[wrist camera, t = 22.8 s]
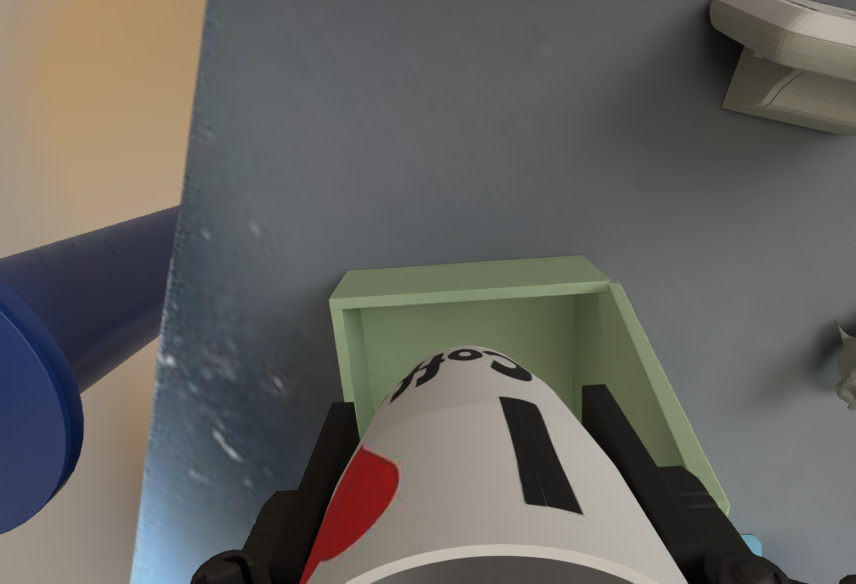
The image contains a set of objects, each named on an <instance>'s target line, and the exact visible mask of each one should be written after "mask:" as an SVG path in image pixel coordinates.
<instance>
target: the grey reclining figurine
mask: <svg viewBox="0 0 856 584" xmlns="http://www.w3.org/2000/svg"><path fill="white" fill-rule="evenodd" d="M835 323H836V326H837V328H838V330H839V333H840V335H841V338H842V341H843V344H844V345H843V350H842V352H841V354H840V355H839V358H838V367H839V371H840V375H841V379H842V381H841V382H839V383H838V385H837V390H836V391H837V396H838V397H839V398H840V399H842V400H844V401H845V402H847V403H849V404H850V405H849V406H848V407H847V408H848V409H850V410H855V409H856V337H853V336H849V335H847V334H846V333H845V332H844V331H843V330H842V329H841V328H840V327H839V325H838V323H837V322H836V321H835Z"/></svg>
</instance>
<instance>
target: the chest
mask: <svg viewBox="0 0 856 584" xmlns="http://www.w3.org/2000/svg"><path fill="white" fill-rule="evenodd" d="M608 283H611V280H610V279H609V278H608V277H607V276H605V275H604V274H603V273H602V272H601V271H600V270H599V269H598V268H597V267H596V266H595V265H593V264H592V263H591V262H590V261H589V260H588V259H587V258H586V257H585V256H584V255H571V256H557V257H542V258H528V259H513V260H498V261H484V262H469V263H454V264H440V265H425V266H411V267H396V268H381V269H367V270H352V271H347V272H346V274H345V275H344V277H343V278H342V280H341V281H340V283H339V284H338V286H337V287H336V289H335V290H334V292H333V293H332V295H331V297H330V298H329V305H330V310H331V318H332V324H333V331H334V337H335V344H336V351H337V357H338V364H339V370H340V377H341V383H342V390H343V396H344V402H354V405H355V412H356V418H357V424H358V430H359V436H360V441H361V439H362V437H363V435H364V434H365V432H366V430H367V428H368V426H369V425H370V423H371V421H372V419H373V417H374V415H375V414H376V412H377V410H378V408H379V407H380V405H381V403H382V402H383V401H384V399H385V398H386V397H387V396H388V394H389V393H390V392H391V391H392V390H393V389H394V388H395V387H396V386H397V385H398V384H399V383H400V382H401V381H402V380H403V379H404V378H405V377H406V376H407V375H408V373H409V372H410V371H411V370H412V369H413V368H414V367H415V366H416V365H417V364H418V363H420V362H421V361H422V360H424V359H425V358H426V357H428V356H430V355H432V354H434V353H436V352H438V351H440V350H443V349H447V348H451V347H456V346H480V347H486V348H489V349H493V350H496V351H498V352H500V353H502V354H504V355H506V356H508V357H509V358H511V359H512V360H514V361H515V362H516V363H518V364H519V365H521V366H522V367H523V368H525V369H526V370H528V371H529V372H530V373H532V374H533V375H535V376H536V377H537V378H539V379H540V380H542V381H543V382H544V383H545V384H547V385H548V386H549V387H550V388H551V389H552V390H553V391H554V392H555V393H556V394H557V396H558V397H559V398H560V399H561V401H562V402H563V403H564V404H565V405H566V407H567V408H568V409H569V410H570V411H571V413H572V414H573V415H574V416H575V417H576V419H577V420H578V421H579V422H580V423H581V425H582V385H596V384H603V380H604V355H605V330H606V305H607V284H608Z"/></svg>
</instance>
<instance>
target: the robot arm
mask: <svg viewBox="0 0 856 584" xmlns="http://www.w3.org/2000/svg"><path fill="white" fill-rule="evenodd" d="M582 426H583V427H584V428H585V430H586V431H587V432H588V433H589V434H590V436H591V437H592V438H593V439H594V440H595V442H596V443H597V444H598V445H599V446H600V448H601V449H602V450H603V451H604V453H605V454H606V455H607V456H608V457H609V459H610V460H611V461H612V462H613V464H614V465H615V466H616V468H617V469H618V471H619V473H620V474H621V476H622V477H623V479H624V481H625V482H626V484H627V486H628V487H629V489H630V490H631V492H632V494H633V495H634V497H635V498H636V500H637V502H638V503H639V505H640V507H641V508H642V510H643V511H644V513H645V515H646V516H647V518H648V520H649V521H650V523H651V524H652V526H653V528H654V529H655V531H656V533H657V534H658V536H659V537H660V539H661V541H662V542H663V544H664V545H665V547H666V549H667V550H668V552H669V554H670V555H671V557H672V558H673V560H674V562H675V563H676V565H677V567H678V568H679V570H680V571H681V573H682V575H683V576H684V578H685V580H686V581H687V583H688V584H807V583H803V582H799V581H796V580H792V579H790V578H788V577H787V575H786V574H785V573H784V572H783V571H782V570H781V569H780V568H779V567H778V566H777V565H775V564H773V563H772V562H770V561H769V560H767V559H765V558H764V557H761V556H758V555H755V554H754V553H753V552H752V551H751V549H750V548H749V547H748V545H747V544H746V543H745V541H744V540H743V538H742V537H741V536H740V534H739V533H738V532H737V530H736V529H735V528H734V526H733V525H732V523H731V522H730V521H729V519H728V518H727V517H726V515H725V514H724V512H723V511H722V510H721V508H719V507H718V504H717V503H716V501H715V500H714V499H713V497H712V496H711V495H709V492H708V491H707V489H706V488H705V486H704V485H703V484H702V482H701V481H700V480H699V478H698V477H696V476H695V475H694V474H692V473H691V472H690V471H688V470H687V469H685V468H684V467H683V466H681V465H680V466H664V467H657V465H656V463H655V462H654V460H653V459H652V457H651V456H650V454H649V452H648V451H647V449H646V448H645V446H644V444H643V443H642V441H641V440H640V438H639V437H638V435H637V433H636V432H635V430H634V429H633V427H632V426H631V424H630V422H629V421H628V419H627V418H626V416H625V415H624V413H623V411H622V410H621V408H620V407H619V405H618V404H617V402H616V400H615V399H614V397H613V396H612V394H611V392H610V391H609V389H608V388H607V386H606V385H605V384H596V385H582ZM359 443H360V436H359V430H358V424H357V418H356V412H355V405H354V402H341V403H332V404H331V407H330V409H329V412H328V415H327V417H326V420H325V422H324V425H323V427H322V430H321V432H320V435H319V437H318V440H317V443H316V445H315V448H314V450H313V453H312V455H311V458H310V460H309V463H308V465H307V468H306V471H305V473H304V476H303V478H302V481H301V483H300V486H299V488H298V490H291V491H276V492H275V493H274V494H273V495H272V496H271V498H270V499H269V500H268V501H267V502H266V503H265V504H264V505H263V507H262V509H261V511H260V513H259V515H258V517H257V519H256V523H255V524H254V526H253V528H252V530H251V532H250V533H251V534H250V535H249V536H248V539H247V541H246V543H245V545H244V547H243V549H242V550H235V549H234V550H229V551H225V552H222V553H219V554H217V555H215V556H213V557H211V558H210V559H209V560H207V561H206V562H205V563H204V564H202V565H201V566H200V567H199V569H198V570H197V571H196V573H195V574H194V575H193V577H192V580H191V583H190V584H299V583H300V580H301V577H302V575H303V572H304V569H305V567H306V564H307V561H308V559H309V556H310V553H311V551H312V548H313V546H314V543H315V540H316V538H317V535H318V532H319V530H320V527H321V524H322V522H323V519H324V516H325V514H326V511H327V508H328V506H329V503H330V500H331V498H332V495H333V492H334V490H335V487H336V485H337V483H338V481H339V479H340V477H341V476H342V474H343V472H344V470H345V468H346V466H347V465H348V463H349V461H350V459H351V457H352V456H353V454H354V452H355V450H356V448H357V446H358V445H359ZM839 584H856V574H855V575H847V576H846V577H844V578H843V579H841V580H840V582H839Z"/></svg>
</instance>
